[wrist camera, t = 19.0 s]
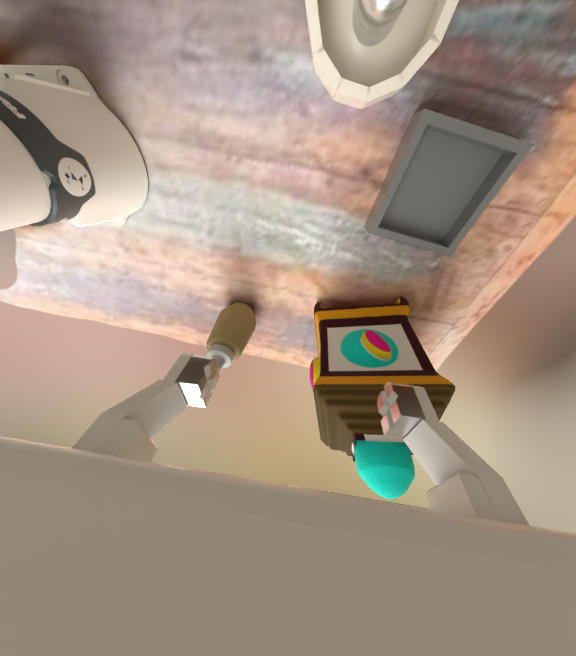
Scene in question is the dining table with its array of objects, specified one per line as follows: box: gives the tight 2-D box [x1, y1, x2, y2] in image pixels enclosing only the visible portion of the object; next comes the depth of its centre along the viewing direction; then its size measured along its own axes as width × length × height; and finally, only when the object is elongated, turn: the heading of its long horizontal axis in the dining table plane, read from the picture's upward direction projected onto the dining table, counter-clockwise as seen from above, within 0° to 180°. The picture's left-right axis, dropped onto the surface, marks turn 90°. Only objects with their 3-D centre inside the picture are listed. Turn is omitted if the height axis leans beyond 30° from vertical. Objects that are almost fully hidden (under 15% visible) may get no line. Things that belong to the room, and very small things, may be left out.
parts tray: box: [364, 109, 534, 256], centre depth 28 cm, size 13×13×4 cm
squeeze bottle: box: [206, 302, 256, 370], centre depth 41 cm, size 8×8×18 cm
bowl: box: [305, 0, 459, 109], centre depth 20 cm, size 13×13×4 cm
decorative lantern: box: [310, 297, 455, 499], centre depth 35 cm, size 20×20×30 cm
